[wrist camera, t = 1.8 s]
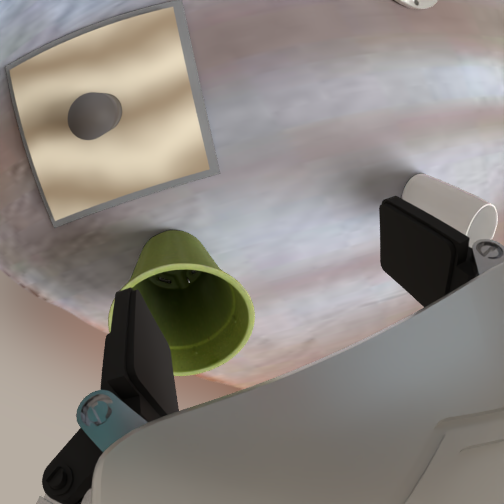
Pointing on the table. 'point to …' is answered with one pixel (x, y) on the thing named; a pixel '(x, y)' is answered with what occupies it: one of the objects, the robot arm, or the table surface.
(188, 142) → the lid
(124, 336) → the robot arm
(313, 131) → the table surface
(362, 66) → the table surface
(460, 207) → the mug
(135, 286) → the plant pot
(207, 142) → the mat
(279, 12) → the table surface
